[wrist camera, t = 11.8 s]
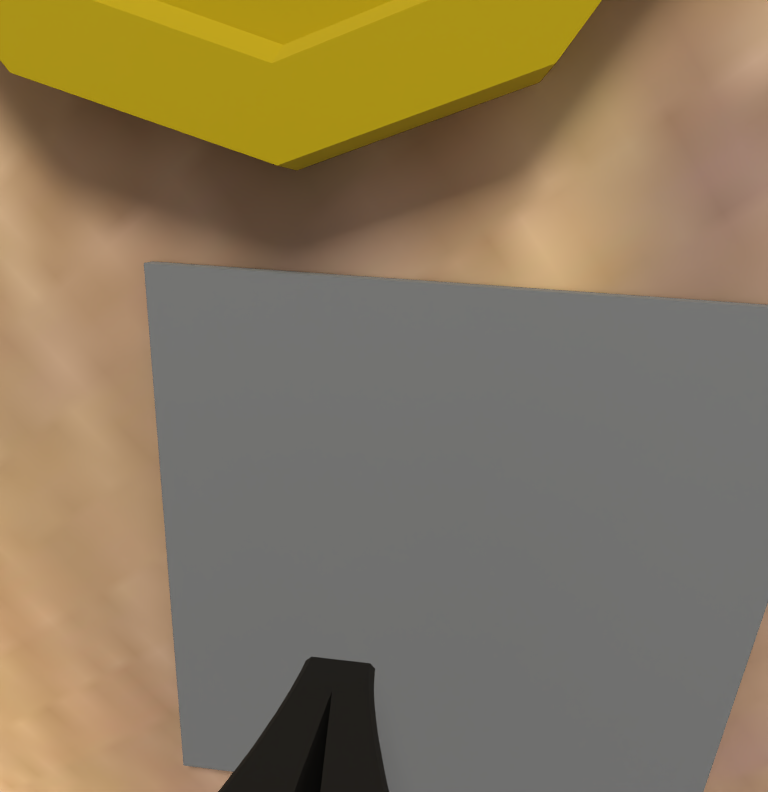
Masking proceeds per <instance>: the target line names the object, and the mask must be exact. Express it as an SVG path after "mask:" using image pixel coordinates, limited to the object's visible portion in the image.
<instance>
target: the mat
mask: <svg viewBox="0 0 768 792" xmlns="http://www.w3.org/2000/svg"><path fill="white" fill-rule="evenodd" d="M144 271H145V284H146V296H147V309H148V322H149V334H150V347H151V359H152V372H153V385H154V397H155V410H156V423H157V435H158V448H159V460H160V473H161V486H162V498H163V511H164V524H165V536H166V549H167V561H168V574H169V587H170V599H171V612H172V625H173V637H174V650H175V662H176V675H177V688H178V700H179V713H180V725H181V738H182V751H183V763H184V765H186V766H194V767H201V768H209V769H217V770H225V771H232V772H234V771H235V769H236V768H237V767H238V766H239V764H240V763H241V762H242V760H243V759H244V758H245V756H246V755H247V754H248V752H249V751H250V750H251V748H252V747H253V745H254V744H255V743H256V741H257V740H258V738H259V737H260V735H261V734H262V732H263V731H264V729H265V728H266V726H267V725H268V724H269V722H270V721H271V719H272V718H273V716H274V715H275V713H276V712H277V710H278V709H279V707H280V705H281V704H282V702H283V701H284V699H285V697H286V696H287V694H288V692H289V691H290V689H291V687H292V686H293V684H294V682H295V680H296V679H297V677H298V675H299V673H300V671H301V669H302V667H303V665H304V663H305V661H306V660H307V659H309V658H310V657H320V658H329V659H337V660H346V661H355V662H364V663H370V664H371V665H372V666H373V667H374V668H375V678H374V702H375V713H376V723H377V730H378V737H379V743H380V749H381V754H382V760H383V765H384V771H385V775H386V780H387V785H388V789H389V792H703V791H704V788H705V785H706V782H707V779H708V776H709V773H710V770H711V768H712V765H713V762H714V759H715V756H716V753H717V750H718V747H719V744H720V741H721V738H722V735H723V732H724V729H725V726H726V723H727V720H728V718H729V715H730V712H731V709H732V706H733V703H734V700H735V697H736V694H737V691H738V688H739V685H740V682H741V679H742V676H743V673H744V671H745V668H746V665H747V662H748V659H749V656H750V653H751V650H752V647H753V644H754V641H755V638H756V635H757V632H758V629H759V626H760V624H761V621H762V618H763V615H764V612H765V609H766V606H767V603H768V305H763V304H749V303H735V302H721V301H706V300H692V299H678V298H664V297H650V296H635V295H621V294H607V293H593V292H579V291H564V290H550V289H536V288H522V287H508V286H493V285H479V284H465V283H451V282H437V281H422V280H408V279H394V278H380V277H366V276H351V275H337V274H323V273H309V272H294V271H280V270H266V269H252V268H238V267H223V266H209V265H195V264H181V263H167V262H147V263H144Z"/></svg>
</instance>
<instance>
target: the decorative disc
mask: <svg viewBox="0 0 768 792" xmlns="http://www.w3.org/2000/svg"><path fill="white" fill-rule="evenodd" d="M601 1H602V0H0V61H1V62H2V63H3V64H4V66H5V67H6V68H7V69H8V71H9V72H10V73H13V74H16V75H19V76H21V77H24V78H27V79H30V80H33V81H36V82H39V83H42V84H44V85H47V86H50V87H53V88H56V89H59V90H62V91H65V92H67V93H70V94H73V95H76V96H79V97H82V98H85V99H88V100H90V101H93V102H96V103H99V104H102V105H105V106H108V107H111V108H113V109H116V110H119V111H122V112H125V113H128V114H131V115H134V116H136V117H139V118H142V119H145V120H148V121H151V122H154V123H157V124H159V125H162V126H165V127H168V128H171V129H174V130H177V131H180V132H182V133H185V134H188V135H191V136H194V137H197V138H200V139H203V140H205V141H208V142H211V143H214V144H217V145H220V146H223V147H226V148H228V149H231V150H234V151H237V152H240V153H243V154H246V155H249V156H251V157H254V158H257V159H260V160H263V161H266V162H269V163H272V164H274V165H277V166H281V167H285V168H289V169H293V170H299V169H302V168H305V167H308V166H310V165H313V164H316V163H319V162H321V161H324V160H327V159H330V158H332V157H335V156H338V155H341V154H343V153H346V152H349V151H352V150H354V149H357V148H360V147H363V146H365V145H368V144H371V143H374V142H376V141H379V140H382V139H385V138H387V137H390V136H393V135H396V134H398V133H401V132H404V131H407V130H409V129H412V128H415V127H418V126H420V125H423V124H426V123H429V122H431V121H434V120H437V119H440V118H442V117H445V116H448V115H451V114H453V113H456V112H459V111H462V110H464V109H467V108H470V107H473V106H475V105H478V104H481V103H484V102H486V101H489V100H492V99H495V98H498V97H500V96H503V95H506V94H509V93H511V92H514V91H517V90H520V89H522V88H525V87H528V86H531V85H533V84H536V83H539V82H540V81H541V80H542V79H543V78H544V76H545V75H546V74H547V73H548V72H549V71H550V69H551V68H552V67H553V66H554V65H555V63H556V62H557V61H558V59H559V58H560V57H561V55H562V54H563V53H564V51H565V50H566V48H567V47H568V46H569V44H570V43H571V42H572V40H573V39H574V38H575V36H576V35H577V33H578V32H579V31H580V29H581V28H582V27H583V25H584V24H585V23H586V21H587V20H588V18H589V17H590V16H591V14H592V13H593V12H594V10H595V9H596V8H597V6H598V5H599V3H600V2H601Z"/></svg>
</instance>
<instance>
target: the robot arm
mask: <svg viewBox="0 0 768 792" xmlns="http://www.w3.org/2000/svg"><path fill="white" fill-rule="evenodd" d="M374 678H375V668H374V667H373V666H372V665H371V664H370V663H364V662H355V661H346V660H337V659H329V658H320V657H310V658H309V659H307V660H306V661H305V663H304V665H303V667H302V669H301V671H300V673H299V675H298V677H297V679H296V680H295V682H294V684H293V686H292V687H291V689H290V691H289V692H288V694H287V696H286V697H285V699H284V701H283V702H282V704H281V705H280V707H279V709H278V710H277V712H276V713H275V715H274V716H273V718H272V719H271V721H270V722H269V724H268V725H267V726H266V728H265V729H264V731H263V732H262V734H261V735H260V737H259V738H258V740H257V741H256V743H255V744H254V745H253V747H252V748H251V750H250V751H249V752H248V754H247V755H246V756H245V758H244V759H243V760H242V762H241V763H240V764H239V766H238V767H237V768H236V769H235V771H234V772H233V773H232V775H231V776H230V777H229V779H228V780H227V781H226V783H225V784H224V785H223V786H222V788H221V789H220V790H219V791H218V792H389V789H388V785H387V780H386V775H385V771H384V765H383V760H382V754H381V749H380V743H379V737H378V730H377V723H376V713H375V702H374Z"/></svg>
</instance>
